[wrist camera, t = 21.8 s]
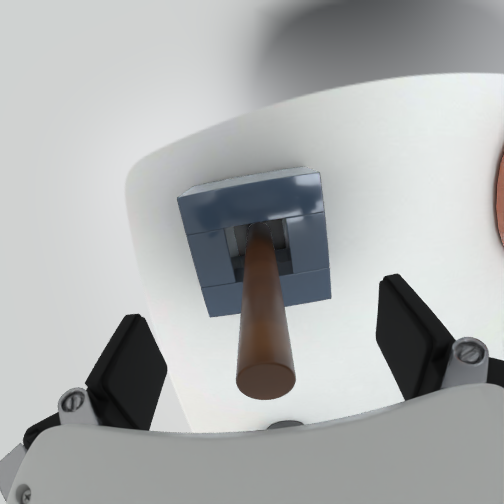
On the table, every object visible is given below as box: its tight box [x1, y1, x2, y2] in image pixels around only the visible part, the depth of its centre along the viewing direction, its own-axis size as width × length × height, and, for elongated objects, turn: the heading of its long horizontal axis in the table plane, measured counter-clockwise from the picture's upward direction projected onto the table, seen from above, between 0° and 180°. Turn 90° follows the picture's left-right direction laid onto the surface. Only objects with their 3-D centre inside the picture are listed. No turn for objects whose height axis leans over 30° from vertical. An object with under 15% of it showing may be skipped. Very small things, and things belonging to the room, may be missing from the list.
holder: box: [177, 166, 331, 317], centre depth 21 cm, size 9×9×5 cm
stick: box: [236, 222, 296, 400], centre depth 16 cm, size 2×2×16 cm
